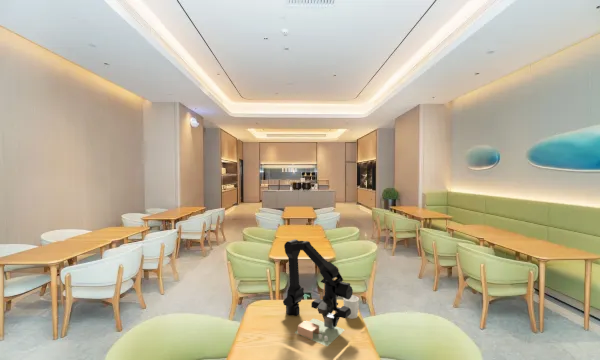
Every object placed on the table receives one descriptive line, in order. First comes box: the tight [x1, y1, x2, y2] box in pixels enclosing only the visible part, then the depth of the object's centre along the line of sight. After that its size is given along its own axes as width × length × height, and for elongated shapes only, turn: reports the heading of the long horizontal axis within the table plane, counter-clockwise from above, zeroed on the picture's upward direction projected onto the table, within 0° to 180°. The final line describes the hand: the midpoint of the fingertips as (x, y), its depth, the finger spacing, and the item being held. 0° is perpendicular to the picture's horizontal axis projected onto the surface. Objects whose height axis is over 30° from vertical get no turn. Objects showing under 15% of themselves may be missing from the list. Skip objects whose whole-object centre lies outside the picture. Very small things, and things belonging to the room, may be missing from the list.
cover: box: [297, 320, 319, 340], centre depth 137 cm, size 8×6×4 cm
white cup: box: [342, 294, 360, 320], centre depth 154 cm, size 8×8×10 cm
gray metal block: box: [323, 312, 338, 329], centre depth 141 cm, size 4×4×5 cm
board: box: [294, 317, 346, 347], centre depth 139 cm, size 18×16×4 cm
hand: (330, 325), depth 141 cm, fingers closed on gray metal block, 4 cm apart
